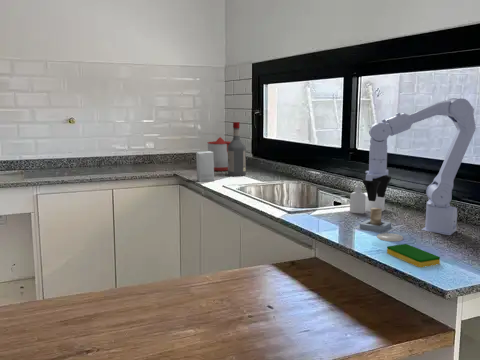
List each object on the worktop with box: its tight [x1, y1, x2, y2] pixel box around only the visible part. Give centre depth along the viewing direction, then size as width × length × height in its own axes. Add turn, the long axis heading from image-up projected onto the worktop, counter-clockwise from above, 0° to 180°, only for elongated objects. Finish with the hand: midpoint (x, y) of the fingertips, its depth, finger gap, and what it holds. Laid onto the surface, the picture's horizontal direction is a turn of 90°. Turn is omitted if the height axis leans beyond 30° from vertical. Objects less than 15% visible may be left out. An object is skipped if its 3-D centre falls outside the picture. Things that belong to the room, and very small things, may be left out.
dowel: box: [369, 208, 383, 226], centre depth 172 cm, size 4×4×6 cm
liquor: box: [227, 121, 247, 178], centre depth 284 cm, size 9×9×30 cm
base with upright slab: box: [363, 192, 386, 213], centre depth 200 cm, size 9×9×12 cm
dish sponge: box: [386, 243, 441, 268], centre depth 142 cm, size 7×14×2 cm, turn 23°
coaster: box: [376, 232, 404, 242], centre depth 160 cm, size 8×8×1 cm
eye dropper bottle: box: [349, 182, 366, 214], centre depth 194 cm, size 4×6×12 cm
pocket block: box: [353, 219, 398, 234], centre depth 172 cm, size 12×10×2 cm
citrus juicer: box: [207, 136, 231, 172], centre depth 306 cm, size 16×17×20 cm
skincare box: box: [195, 150, 215, 183], centre depth 269 cm, size 8×7×16 cm
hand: (376, 198), depth 171 cm, fingers open, 7 cm apart
